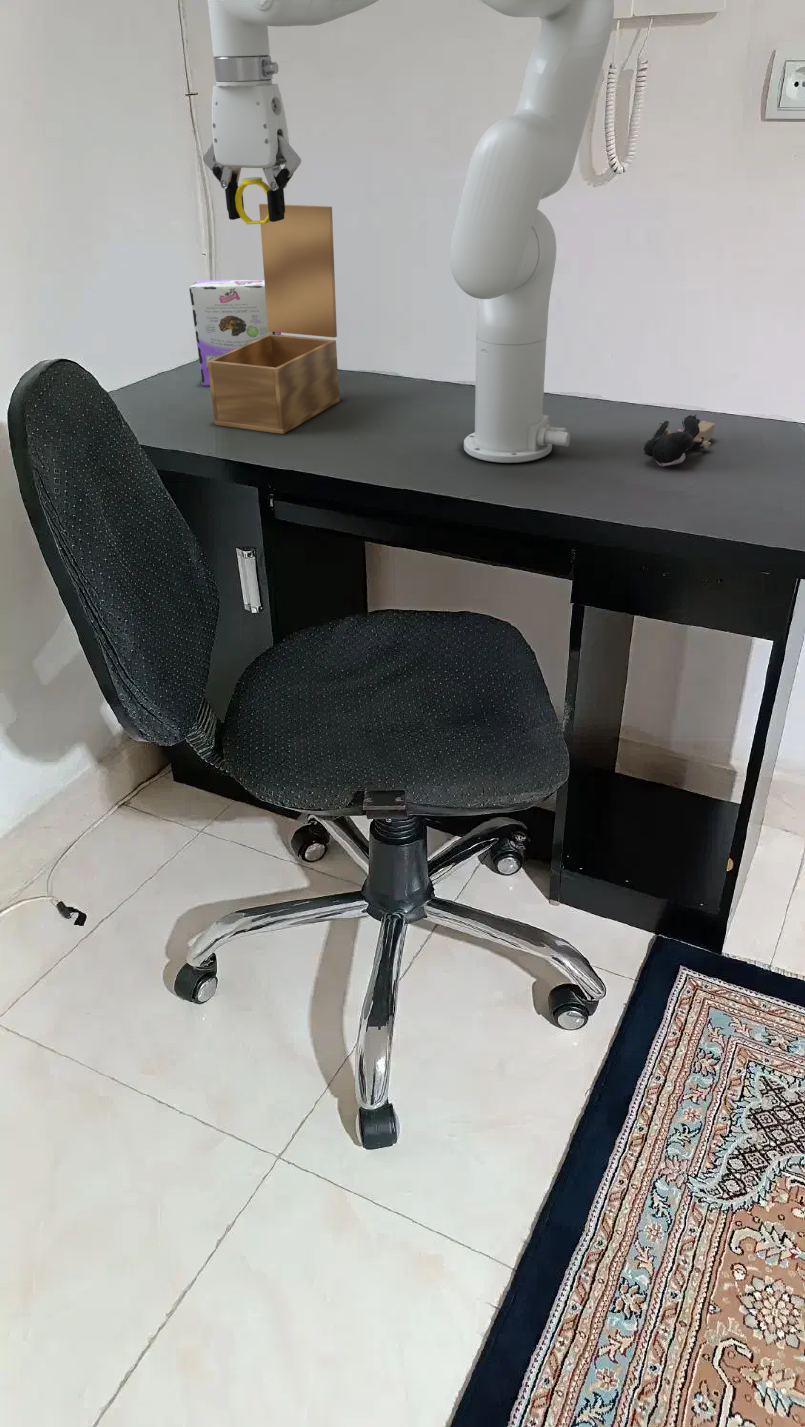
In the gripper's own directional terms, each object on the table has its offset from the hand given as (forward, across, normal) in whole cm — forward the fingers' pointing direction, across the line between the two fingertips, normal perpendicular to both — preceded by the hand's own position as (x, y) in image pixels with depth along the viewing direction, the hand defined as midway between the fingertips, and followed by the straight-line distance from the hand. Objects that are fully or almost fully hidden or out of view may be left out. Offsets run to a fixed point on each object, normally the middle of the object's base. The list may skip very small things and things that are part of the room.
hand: (256, 218), depth 150 cm
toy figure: (+29, -63, -6) cm, 69 cm away
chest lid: (+9, 0, -10) cm, 14 cm away
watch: (+1, 0, 0) cm, 1 cm away
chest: (+29, 0, -1) cm, 29 cm away
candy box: (+29, +15, -14) cm, 36 cm away
